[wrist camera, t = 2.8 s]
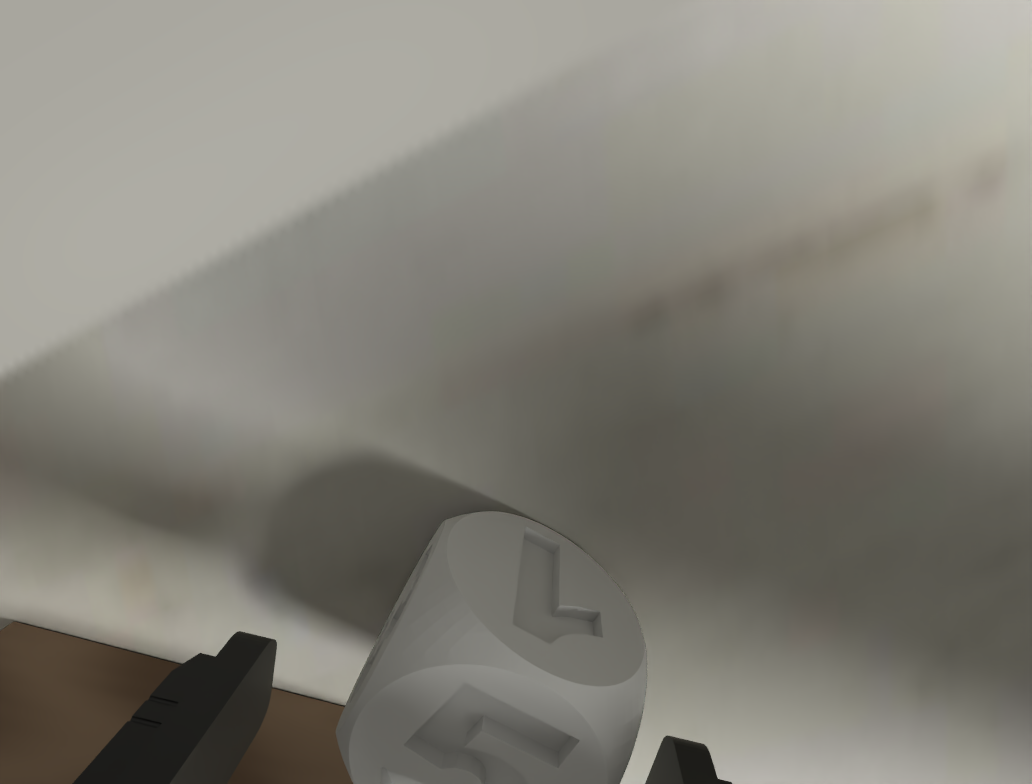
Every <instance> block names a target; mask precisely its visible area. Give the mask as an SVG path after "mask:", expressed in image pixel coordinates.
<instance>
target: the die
mask: <svg viewBox="0 0 1032 784" xmlns="http://www.w3.org/2000/svg"><path fill="white" fill-rule="evenodd" d="M646 685H647V653H646V646H645V641H644V637H643V633H642V630H641V627H640V624H639V621H638V618H637V616H636V614H635V612H634V610H633V608H632V606H631V604H630V603H629V601H628V599H627V598H626V596H625V595H624V593H623V592H622V590H621V589H620V588H619V586H618V585H617V584H616V583H615V581H614V580H613V579H612V578H611V577H610V576H609V574H608V573H607V572H606V571H605V570H604V569H603V568H602V567H601V566H600V565H599V564H598V563H597V562H596V561H595V560H594V559H592V558H591V557H590V556H589V555H588V554H587V553H586V552H584V551H583V550H582V549H581V548H579V547H578V546H577V545H575V544H574V543H572V542H571V541H570V540H568V539H567V538H565V537H564V536H562V535H560V534H559V533H557V532H555V531H553V530H552V529H550V528H548V527H546V526H544V525H542V524H540V523H537V522H535V521H533V520H530V519H527V518H524V517H521V516H518V515H514V514H510V513H505V512H497V511H484V512H475V513H469V514H463V515H460V516H456V517H453V518H449V519H446V520H444V521H443V522H442V524H441V525H440V526H439V528H438V529H437V531H436V533H435V534H434V536H433V537H432V539H431V541H430V542H429V544H428V546H427V547H426V549H425V551H424V553H423V554H422V556H421V558H420V560H419V561H418V563H417V565H416V567H415V569H414V570H413V572H412V574H411V576H410V578H409V579H408V581H407V583H406V585H405V587H404V589H403V591H402V592H401V594H400V596H399V598H398V600H397V602H396V604H395V606H394V608H393V609H392V611H391V613H390V615H389V617H388V619H387V621H386V623H385V625H384V627H383V629H382V631H381V633H380V635H379V637H378V639H377V641H376V643H375V645H374V647H373V649H372V651H371V653H370V655H369V657H368V659H367V661H366V663H365V665H364V667H363V669H362V671H361V673H360V675H359V677H358V679H357V681H356V684H355V686H354V688H353V690H352V692H351V694H350V697H349V699H348V701H347V703H346V705H345V708H344V710H343V712H342V715H341V717H340V720H339V722H338V725H337V728H336V737H337V741H338V745H339V749H340V752H341V755H342V758H343V761H344V764H345V766H346V768H347V771H348V773H349V775H350V778H351V780H352V782H353V784H620V781H621V779H622V777H623V775H624V772H625V770H626V767H627V765H628V762H629V760H630V757H631V754H632V751H633V748H634V745H635V741H636V738H637V734H638V731H639V727H640V722H641V718H642V713H643V708H644V702H645V695H646Z"/></svg>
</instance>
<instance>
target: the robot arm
mask: <svg viewBox="0 0 1032 784" xmlns="http://www.w3.org/2000/svg"><path fill="white" fill-rule="evenodd" d="M276 649H277V642H276V640H274V639H270V638H266V637H261V636H257V635H253V634H249V633H245V632H240V631H239V632H237V633H235V634H234V635H233V636H232V637H231V638H230V640H229V641H228V642H227V643H226V645H225V646H224V647H223V648H222V650H221V651H220V652H219V653H218V655H217V656H216V657H214V656H210V655H206V654H202V653H199V654H198V655H196V656H195V657H193V658H191V659H190V660H188V661H187V662H185V663H184V664H182V665H180V666H179V667H177V668H176V669H174V670H172V671H171V672H170V673H169V675H168V676H167V677H166V678H165V679H164V680H163V681H162V682H161V684H160V685H159V686H158V687H157V688H156V689H155V690H154V692H153V693H152V694H151V695H150V698H149V699H148V700H146V701H145V702H144V703H143V704H142V705H141V706H140V707H139V709H138V710H137V711H136V712H135V713H134V714H133V715H132V718H131V720H130V721H127V722H126V723H125V724H124V726H123V727H122V728H121V729H120V730H119V731H118V732H117V733H116V735H115V736H114V737H113V738H112V739H111V740H110V741H109V743H108V744H107V745H106V746H105V747H104V748H103V749H102V750H101V752H100V753H99V754H98V755H97V756H96V757H95V758H94V760H93V761H92V762H91V763H90V764H89V765H88V766H87V768H86V769H85V770H84V771H83V772H82V773H81V774H80V775H79V777H78V778H77V779H76V780H75V781H74V782H73V783H72V784H227V783H228V781H229V779H230V778H231V776H232V774H233V773H234V771H235V769H236V768H237V766H238V764H239V763H240V761H241V759H242V758H243V756H244V754H245V753H246V751H247V749H248V748H249V746H250V744H251V743H252V741H253V739H254V738H255V736H256V734H257V732H258V731H259V729H260V727H261V724H262V722H263V720H264V717H265V715H266V712H267V709H268V706H269V702H270V697H271V690H272V681H273V673H274V665H275V657H276ZM645 784H732V783H731V782H728V781H724V780H720V779H718V778H717V775H716V772H715V769H714V765H713V762H712V759H711V755H710V753H709V750H708V748H707V747H706V746H705V745H704V744H701V743H697V742H693V741H688V740H684V739H680V738H676V737H672V736H666V737H664V739H663V741H662V743H661V745H660V748H659V750H658V753H657V755H656V758H655V761H654V763H653V766H652V768H651V771H650V773H649V776H648V778H647V781H646V783H645Z"/></svg>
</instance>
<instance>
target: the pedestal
mask: <svg viewBox="0 0 1032 784" xmlns="http://www.w3.org/2000/svg"><path fill="white" fill-rule="evenodd" d="M179 666H180V664H177V663H173V662H169V661H165V660H161V659H157V658H153V657H149V656H146V655H142V654H138V653H134V652H130V651H126V650H122V649H119V648H115V647H111V646H107V645H103V644H99V643H95V642H91V641H88V640H84V639H80V638H76V637H72V636H68V635H64V634H60V633H57V632H53V631H49V630H45V629H41V628H37V627H33V626H30V625H26V624H22V623H18V622H12V623H11V624H9V625H8V626H7V627H5V628H4V629H2V630H1V631H0V784H72V783H73V782H74V781H75V780H76V779H77V778H78V777H79V775H80V774H81V773H82V772H83V771H84V770H85V769H86V768H87V766H88V765H89V764H90V763H91V762H92V761H93V760H94V758H95V757H96V756H97V755H98V754H99V753H100V752H101V750H102V749H103V748H104V747H105V746H106V745H107V744H108V743H109V741H110V740H111V739H112V738H113V737H114V736H115V735H116V733H117V732H118V731H119V730H120V729H121V728H122V727H123V726H124V724H125V723H126V722H127V721H130V720H131V718H132V715H133V714H134V713H135V712H136V711H137V710H138V709H139V707H140V706H141V705H142V704H143V703H144V702H145V701H146V700H148V699H149V698H150V695H151V694H152V693H153V692H154V690H155V689H156V688H157V687H158V686H159V685H160V684H161V682H162V681H163V680H164V679H165V678H166V677H167V676H168V675H169V673H170V672H171V671H172V670H174V669H176V668H177V667H179ZM344 708H345V707H343V706H339V705H335V704H331V703H327V702H324V701H320V700H316V699H312V698H308V697H304V696H300V695H296V694H293V693H289V692H285V691H281V690H277V689H273V688H272V690H271V697H270V702H269V706H268V709H267V712H266V715H265V717H264V720H263V722H262V724H261V727H260V729H259V731H258V732H257V734H256V736H255V738H254V739H253V741H252V743H251V744H250V746H249V748H248V749H247V751H246V753H245V754H244V756H243V758H242V759H241V761H240V763H239V764H238V766H237V768H236V769H235V771H234V773H233V774H232V776H231V778H230V779H229V781H228V783H227V784H353V782H352V780H351V778H350V775H349V773H348V771H347V768H346V766H345V764H344V761H343V758H342V755H341V752H340V749H339V745H338V741H337V737H336V728H337V725H338V722H339V720H340V717H341V715H342V712H343V710H344Z"/></svg>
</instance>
